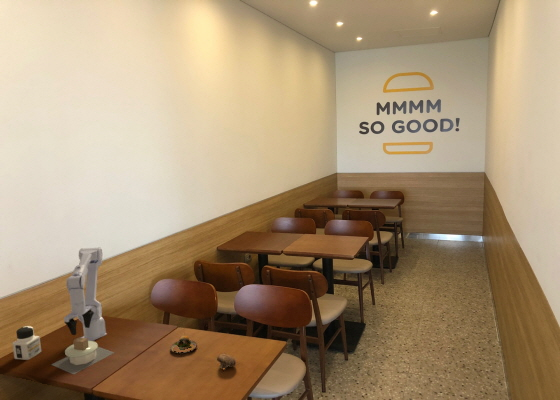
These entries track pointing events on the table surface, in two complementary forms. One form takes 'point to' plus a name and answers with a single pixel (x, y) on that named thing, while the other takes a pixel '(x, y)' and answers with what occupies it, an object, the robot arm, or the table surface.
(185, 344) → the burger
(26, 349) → the container
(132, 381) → the table surface
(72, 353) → the lid
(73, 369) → the mat
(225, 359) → the mushroom
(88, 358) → the bowl
